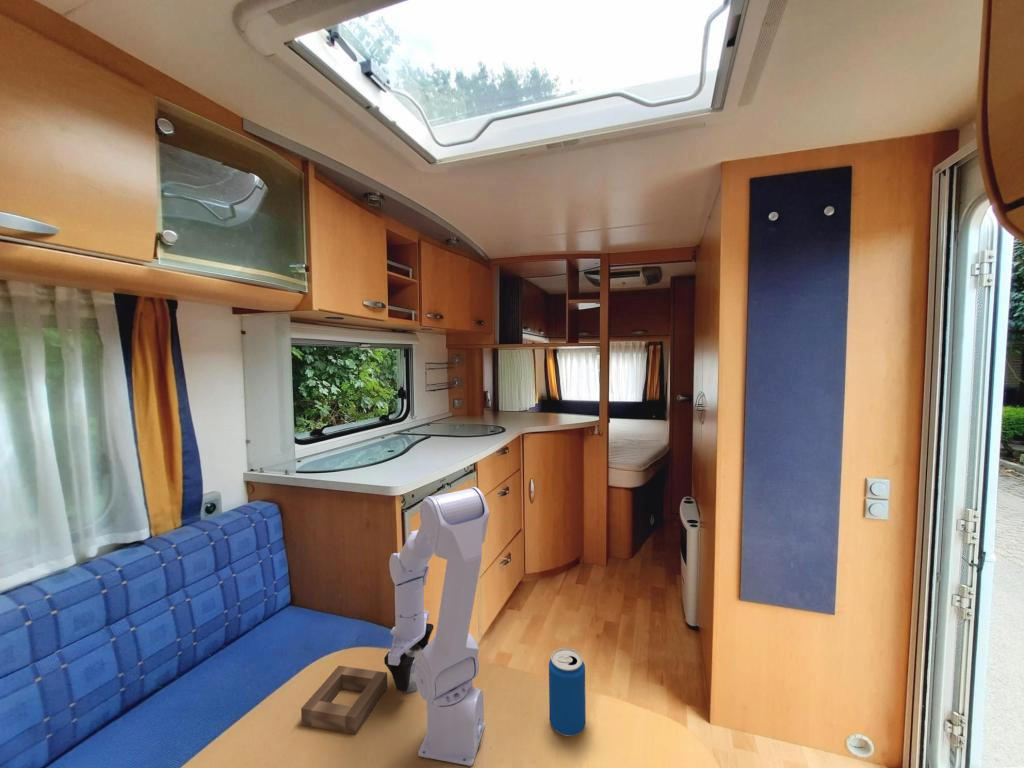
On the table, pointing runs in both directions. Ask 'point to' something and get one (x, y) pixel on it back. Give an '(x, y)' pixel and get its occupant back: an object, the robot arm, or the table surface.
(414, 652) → the metal peg
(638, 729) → the table surface
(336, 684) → the walnut socket block
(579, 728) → the beverage can
